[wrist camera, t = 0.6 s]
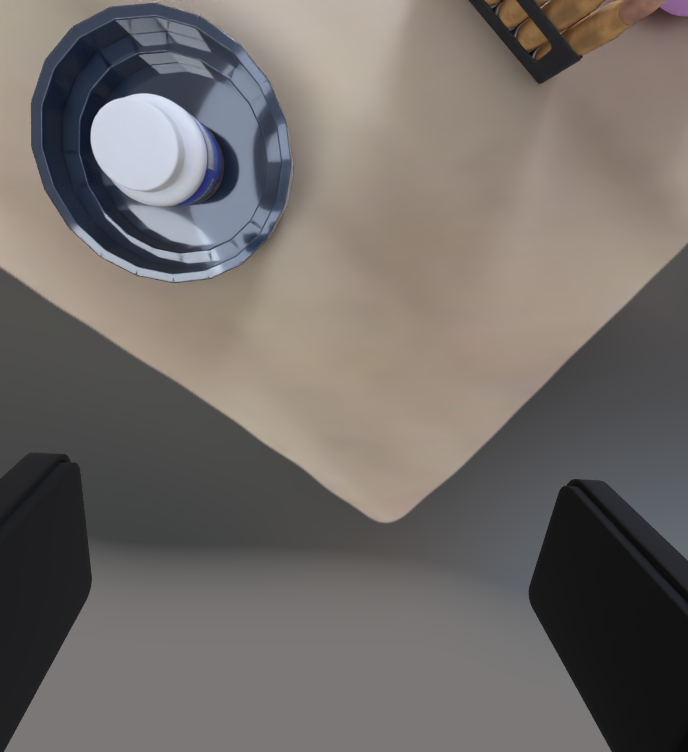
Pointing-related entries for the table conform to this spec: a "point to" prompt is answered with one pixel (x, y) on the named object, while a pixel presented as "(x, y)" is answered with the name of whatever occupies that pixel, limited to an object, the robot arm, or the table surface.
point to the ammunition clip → (559, 28)
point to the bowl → (195, 95)
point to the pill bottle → (156, 151)
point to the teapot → (676, 7)
